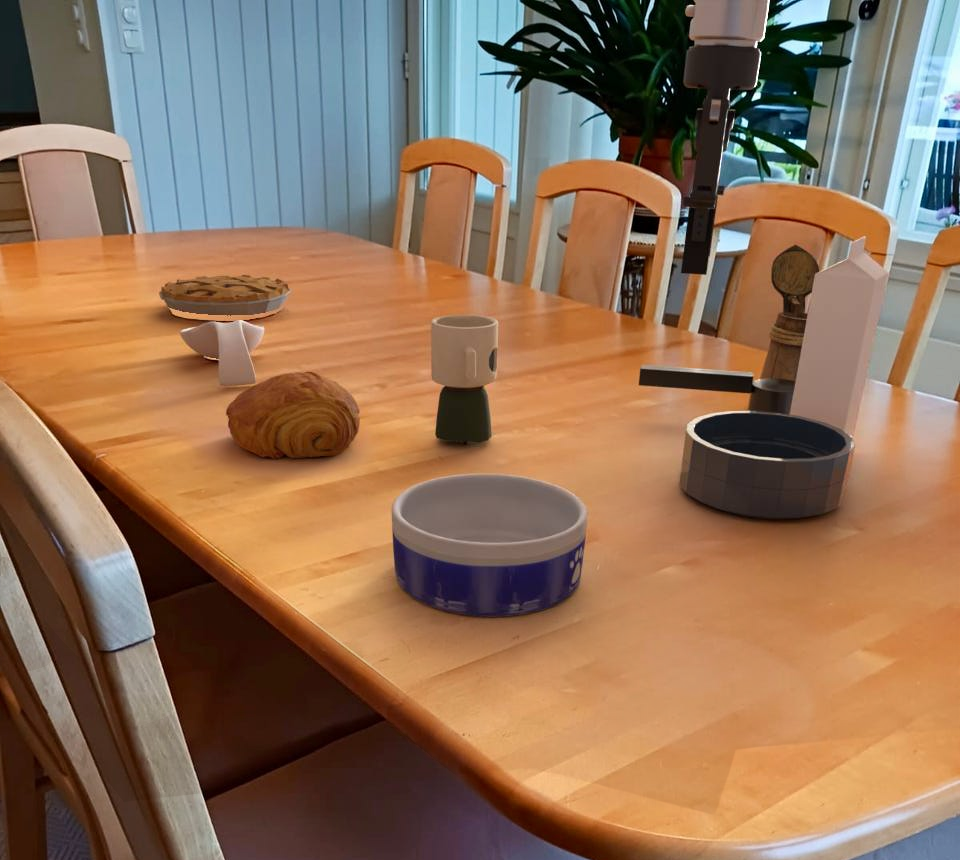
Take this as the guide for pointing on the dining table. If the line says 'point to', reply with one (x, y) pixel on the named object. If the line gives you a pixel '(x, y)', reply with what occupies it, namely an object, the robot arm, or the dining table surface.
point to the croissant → (294, 417)
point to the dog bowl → (488, 543)
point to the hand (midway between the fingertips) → (696, 264)
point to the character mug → (464, 375)
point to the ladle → (724, 385)
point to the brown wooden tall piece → (789, 312)
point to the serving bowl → (766, 464)
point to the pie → (225, 295)
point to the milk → (839, 340)
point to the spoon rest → (227, 348)
